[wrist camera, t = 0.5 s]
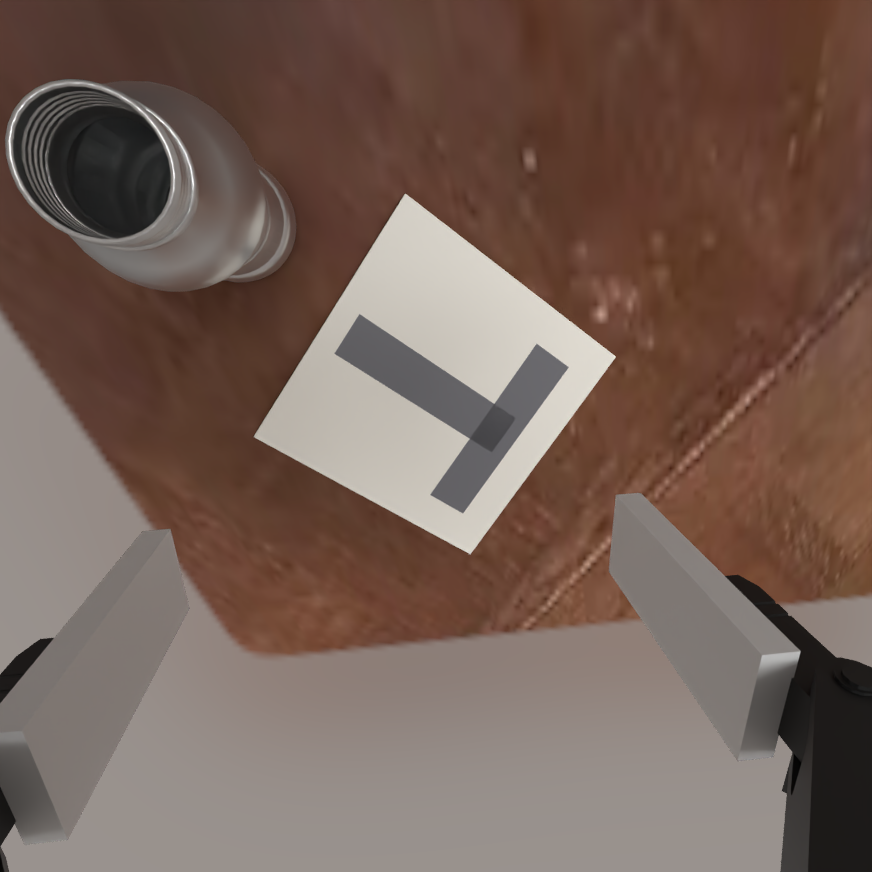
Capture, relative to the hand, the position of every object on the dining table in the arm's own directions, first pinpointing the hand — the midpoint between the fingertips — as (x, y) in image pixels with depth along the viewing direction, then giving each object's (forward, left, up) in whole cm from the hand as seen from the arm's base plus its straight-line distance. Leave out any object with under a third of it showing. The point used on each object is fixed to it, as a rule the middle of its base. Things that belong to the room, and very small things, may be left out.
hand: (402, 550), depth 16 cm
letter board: (-3, +4, -21) cm, 22 cm away
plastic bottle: (-5, -12, -21) cm, 25 cm away
